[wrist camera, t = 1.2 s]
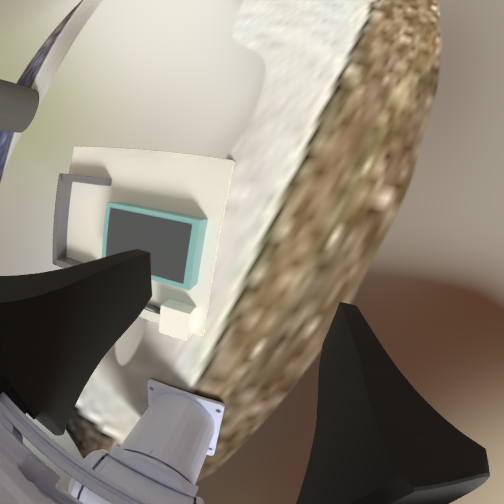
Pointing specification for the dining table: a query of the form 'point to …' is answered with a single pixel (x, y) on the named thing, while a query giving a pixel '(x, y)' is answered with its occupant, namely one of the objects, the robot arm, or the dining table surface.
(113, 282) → the robot arm
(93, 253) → the board
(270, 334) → the dining table surface
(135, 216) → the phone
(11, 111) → the bottle
